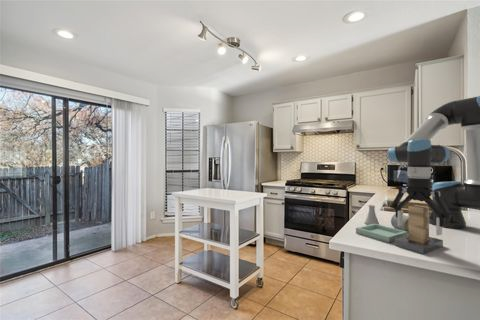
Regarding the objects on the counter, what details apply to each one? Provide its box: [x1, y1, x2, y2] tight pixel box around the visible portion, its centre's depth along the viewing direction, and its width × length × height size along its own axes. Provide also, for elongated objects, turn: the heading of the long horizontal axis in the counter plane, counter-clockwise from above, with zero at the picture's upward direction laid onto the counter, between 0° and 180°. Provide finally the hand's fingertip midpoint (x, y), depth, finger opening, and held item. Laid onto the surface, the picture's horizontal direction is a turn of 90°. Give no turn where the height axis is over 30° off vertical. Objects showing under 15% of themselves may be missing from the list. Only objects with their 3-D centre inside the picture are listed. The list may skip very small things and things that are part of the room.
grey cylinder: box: [390, 213, 409, 232], centre depth 115 cm, size 11×8×8 cm
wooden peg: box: [408, 204, 430, 243], centre depth 94 cm, size 5×5×16 cm
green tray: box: [355, 223, 408, 244], centre depth 107 cm, size 15×15×2 cm
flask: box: [364, 204, 380, 225], centre depth 125 cm, size 7×7×10 cm
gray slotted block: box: [393, 235, 444, 255], centre depth 94 cm, size 16×10×3 cm, turn 119°
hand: (418, 229), depth 94 cm, fingers open, 13 cm apart
